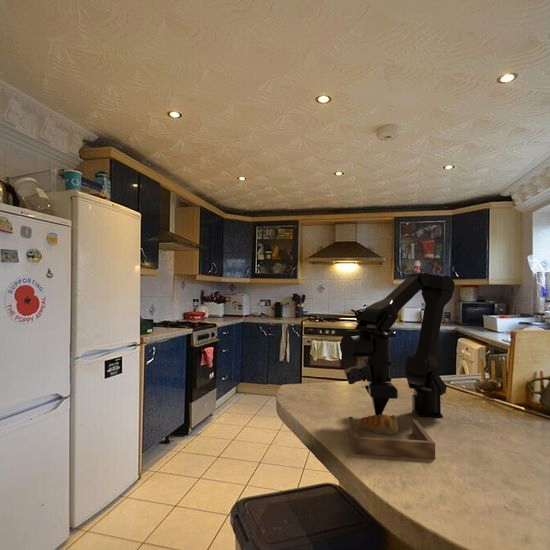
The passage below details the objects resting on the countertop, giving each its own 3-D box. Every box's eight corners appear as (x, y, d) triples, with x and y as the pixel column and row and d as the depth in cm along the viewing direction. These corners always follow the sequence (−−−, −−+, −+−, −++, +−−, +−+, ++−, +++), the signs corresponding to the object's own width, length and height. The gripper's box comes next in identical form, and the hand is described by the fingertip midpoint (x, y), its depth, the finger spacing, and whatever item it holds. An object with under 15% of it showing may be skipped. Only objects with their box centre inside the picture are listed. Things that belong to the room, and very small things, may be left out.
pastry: (358, 433, 85) (358, 416, 86) (358, 423, 92) (358, 408, 92) (400, 436, 83) (399, 420, 84) (396, 426, 90) (396, 411, 90)
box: (416, 432, 85) (416, 420, 85) (435, 458, 72) (435, 443, 72) (348, 429, 87) (348, 416, 87) (354, 453, 74) (354, 438, 74)
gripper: (343, 349, 102) (343, 404, 102) (349, 360, 84) (348, 428, 83) (383, 350, 101) (383, 406, 100) (398, 362, 83) (398, 431, 82)
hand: (378, 416), depth 91 cm, fingers closed
